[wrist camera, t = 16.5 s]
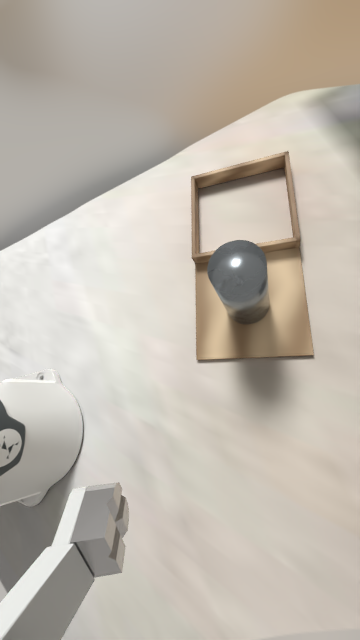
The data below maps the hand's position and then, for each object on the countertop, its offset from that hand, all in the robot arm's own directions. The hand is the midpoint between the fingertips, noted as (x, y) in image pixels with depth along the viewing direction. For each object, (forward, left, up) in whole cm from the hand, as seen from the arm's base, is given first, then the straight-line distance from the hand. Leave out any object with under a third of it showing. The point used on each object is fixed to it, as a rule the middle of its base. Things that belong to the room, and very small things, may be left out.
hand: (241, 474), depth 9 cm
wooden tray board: (-1, +21, -25) cm, 32 cm away
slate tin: (-1, +14, -24) cm, 28 cm away
